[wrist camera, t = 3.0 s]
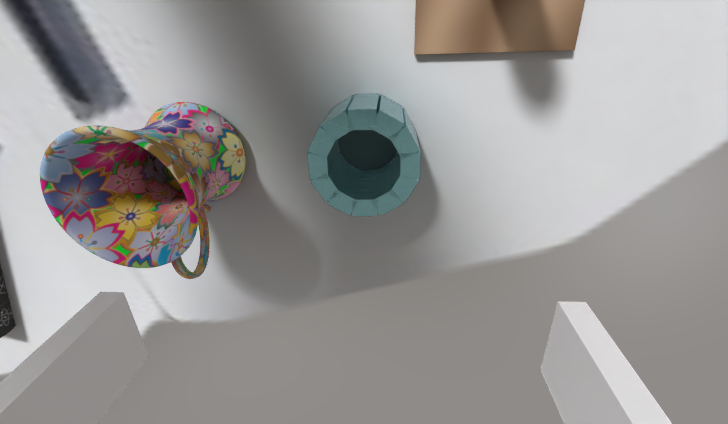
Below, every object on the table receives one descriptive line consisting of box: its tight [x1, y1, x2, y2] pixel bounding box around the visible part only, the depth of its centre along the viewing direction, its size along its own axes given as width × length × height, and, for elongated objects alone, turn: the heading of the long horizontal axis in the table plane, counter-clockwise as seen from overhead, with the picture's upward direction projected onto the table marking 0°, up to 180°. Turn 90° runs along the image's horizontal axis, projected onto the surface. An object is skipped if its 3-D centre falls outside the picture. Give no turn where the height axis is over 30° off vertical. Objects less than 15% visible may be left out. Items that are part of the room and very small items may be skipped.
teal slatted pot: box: [307, 94, 421, 216], centre depth 27 cm, size 8×8×6 cm
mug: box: [40, 102, 246, 279], centre depth 27 cm, size 12×9×11 cm
